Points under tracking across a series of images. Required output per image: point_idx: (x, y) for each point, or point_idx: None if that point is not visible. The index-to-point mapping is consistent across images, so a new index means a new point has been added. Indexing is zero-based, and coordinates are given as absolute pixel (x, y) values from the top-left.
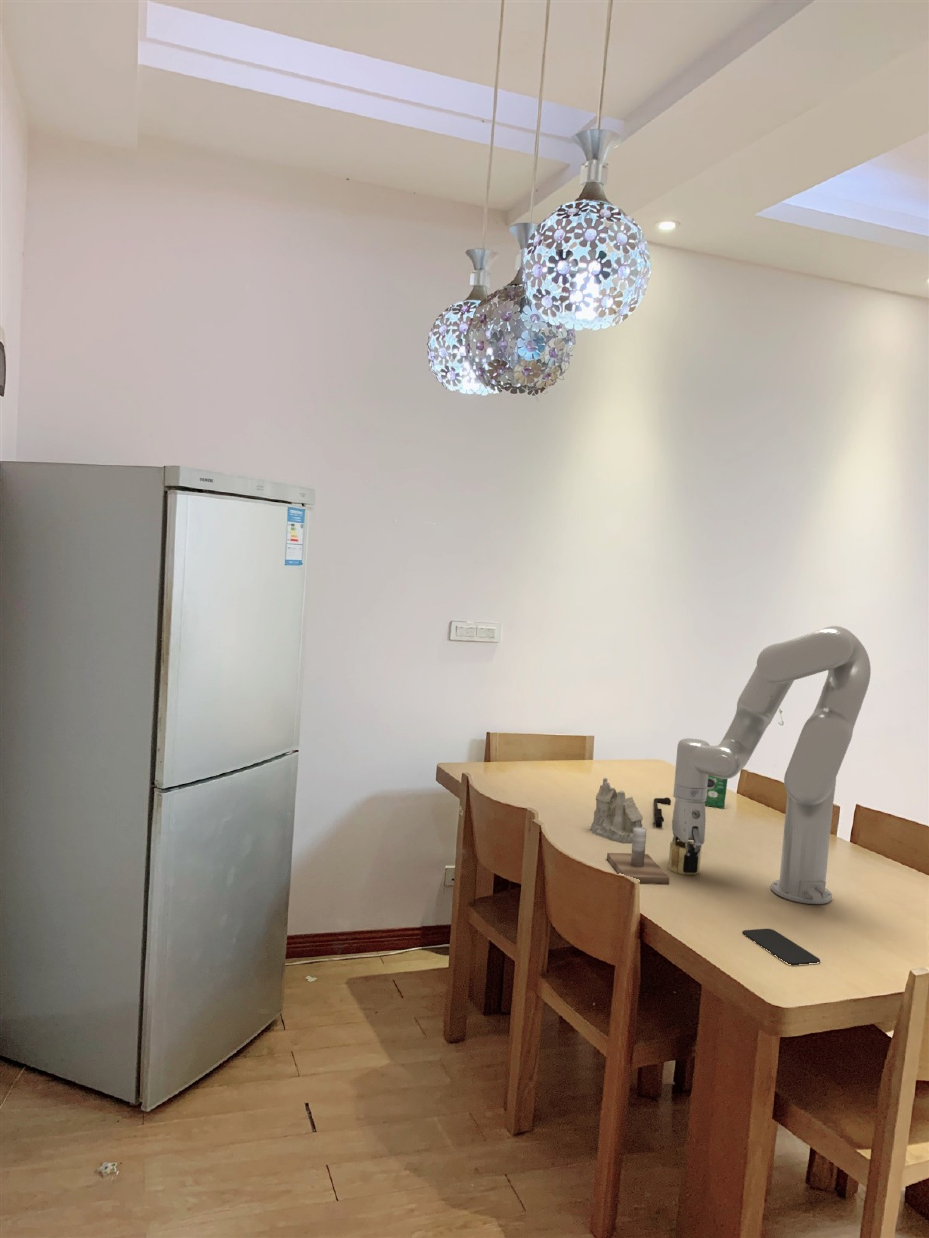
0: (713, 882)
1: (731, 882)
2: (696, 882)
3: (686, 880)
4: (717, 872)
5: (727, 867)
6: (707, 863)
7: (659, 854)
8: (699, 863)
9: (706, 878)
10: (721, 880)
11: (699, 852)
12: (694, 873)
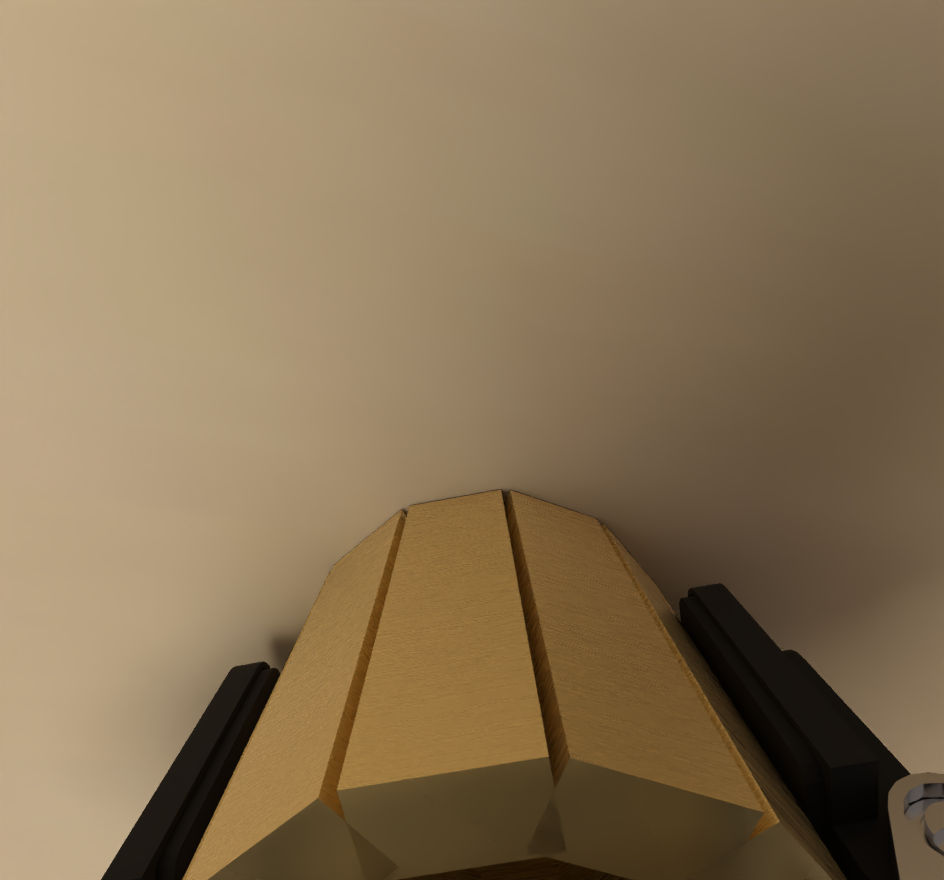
0: (898, 384)
1: (881, 113)
2: (911, 587)
3: (854, 680)
4: (481, 246)
5: (183, 17)
6: (117, 322)
7: (30, 836)
8: (610, 574)
9: (758, 448)
10: (811, 255)
11: (734, 741)
12: (649, 578)
